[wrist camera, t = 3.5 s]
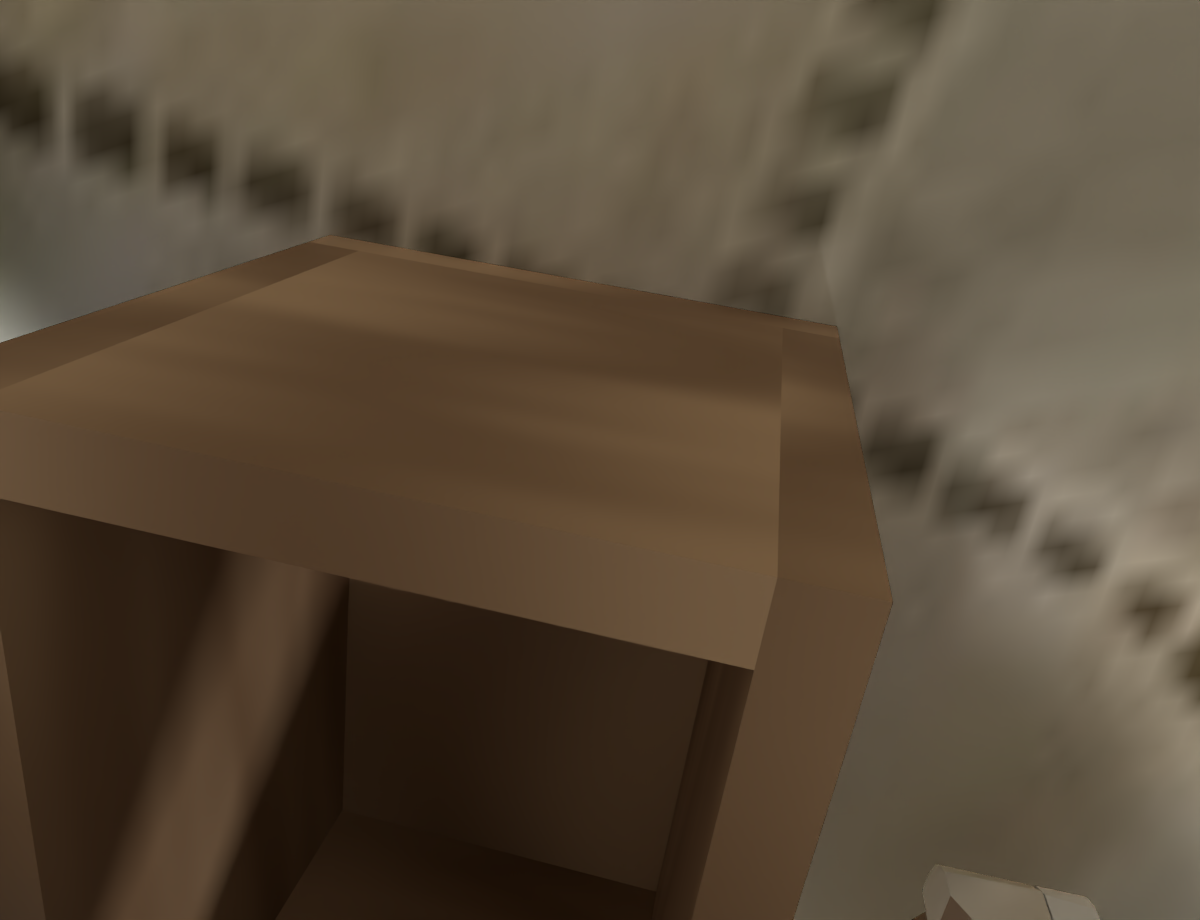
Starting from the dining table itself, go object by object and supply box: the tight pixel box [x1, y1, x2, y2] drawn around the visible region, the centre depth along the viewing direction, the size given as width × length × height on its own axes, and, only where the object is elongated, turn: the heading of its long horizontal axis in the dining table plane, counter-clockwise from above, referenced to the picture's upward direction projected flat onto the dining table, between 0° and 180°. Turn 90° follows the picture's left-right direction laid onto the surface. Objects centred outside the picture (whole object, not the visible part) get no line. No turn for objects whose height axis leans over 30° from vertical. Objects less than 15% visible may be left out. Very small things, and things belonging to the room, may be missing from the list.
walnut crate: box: [0, 235, 893, 920], centre depth 10 cm, size 6×9×6 cm, turn 172°
